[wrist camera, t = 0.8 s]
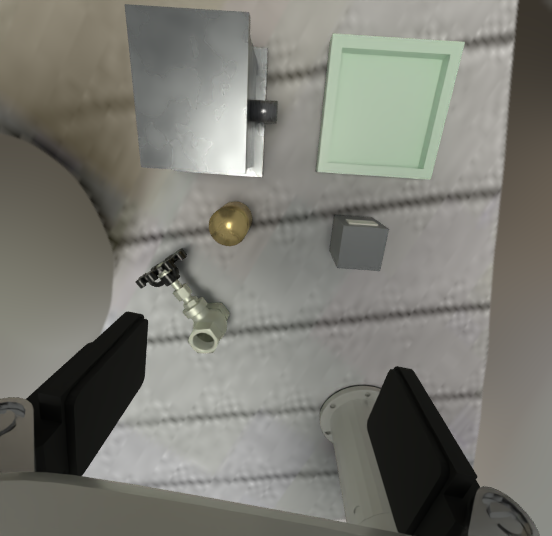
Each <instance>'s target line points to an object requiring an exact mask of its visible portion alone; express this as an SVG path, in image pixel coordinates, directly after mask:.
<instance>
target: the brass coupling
mask: <svg viewBox="0 0 552 536" xmlns="http://www.w3.org/2000/svg"><path fill="white" fill-rule="evenodd" d="M251 224H252V214H251V211H250V210H249V208H248V207H247V206H246V205H245V204H243V203H241V202H229V203H227V204H226V205H224V206H223V207H222V208H220V209H219V210H218V211H216V212H215V213H214V214H213V215H212V217H211V218H210V221H209V231H210V234H211V236H212V237H213V238H214V240H215V241H217V242H218V243H220V244H222V245H225V246H233V245H236V244H238V243H240V242H241V241H242V240H243V239H244V237H245V236H246V234H247V232H248V230H249V228H250V226H251Z"/></svg>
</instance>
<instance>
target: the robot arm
mask: <svg viewBox="0 0 552 536" xmlns="http://www.w3.org/2000/svg"><path fill="white" fill-rule="evenodd" d="M147 332H148V320H147V319H144V315H143V314H138V313H133V312H125V313H124V314H123V315H122V316H121V317H120V318H119V319H117V320H116V321H115V322H114V323H113V324H112V325H111V326H110V327H109V328H108V329H107V330H106V331H104V332H103V333H102V334H101V335H100V336H99V337H98V338H97V339H96V340H95V341H94V342H91V343H88V344H87V345H85V346H84V347H83V348H82V349H81V350H80V351H79V352H78V353H76V354H75V355H74V356H73V357H72V358H71V359H70V360H69V361H68V362H66V363H65V364H64V365H63V366H62V367H61V368H60V369H59V370H58V371H56V372H55V373H54V374H53V375H52V376H51V377H50V378H49V379H48V380H47V381H45V382H44V383H43V384H42V385H41V386H40V387H39V388H38V389H37V390H35V391H34V392H33V393H32V394H31V395H30V396H29V397H28V398H27V399H23V398H19V397H16V398H15V397H8V398H3V399H0V536H540V534H539V531H538V529H537V528H536V526H535V524H534V522H533V521H532V519H531V518H530V517H529V515H528V514H527V513H526V512H525V511H524V510H523V509H522V508H521V507H520V506H519V504H517V503H516V502H515V501H514V500H513V499H511V498H510V497H509V496H507V495H506V494H504V493H502V492H501V491H499V490H497V489H494V488H491V487H484V486H483V487H481V488H480V486H479V484H478V483H477V481H476V478H477V475H476V474H475V472H474V470H473V468H472V467H471V465H470V463H469V462H468V460H467V458H466V457H465V455H464V454H463V452H462V450H461V449H460V447H459V445H458V444H457V442H456V440H455V439H454V437H453V435H452V434H451V432H450V430H449V429H448V427H447V425H446V424H445V422H444V420H443V419H442V417H441V415H440V414H439V412H438V411H437V409H436V407H435V406H434V404H433V402H432V401H431V399H430V397H429V396H428V394H427V392H426V391H425V389H424V387H423V386H422V384H421V382H420V381H419V379H418V377H417V376H416V374H415V372H414V371H413V370H412V369H408V368H403V367H398V366H397V367H395V368H394V369H390V370H389V372H388V374H387V376H386V379H385V381H384V383H383V386H382V388H381V389H379V388H376V387H371V386H355V387H350V388H346V389H343V390H341V391H339V392H337V393H335V394H334V395H332V396H331V397H330V398H329V399H328V400H327V401H326V402H325V403H324V405H323V407H322V408H321V412H320V426H321V430H322V432H323V434H324V435H325V437H326V438H327V439H328V440H329V441H330V442H332V443H333V444H334V450H335V456H336V462H337V468H338V474H339V480H340V486H341V492H342V498H343V505H344V511H345V517H346V523H345V522H339V521H334V520H329V519H323V518H318V517H313V516H307V515H302V514H296V513H291V512H285V511H280V510H274V509H269V508H264V507H258V506H252V505H247V504H241V503H236V502H230V501H225V500H219V499H214V498H208V497H202V496H197V495H191V494H185V493H180V492H174V491H168V490H162V489H157V488H151V487H145V486H140V485H134V484H128V483H122V482H115V481H109V480H102V479H96V478H89V477H83V476H82V475H83V474H84V472H85V471H86V469H87V468H88V466H89V465H90V463H91V462H92V460H93V459H94V457H95V456H96V454H97V453H98V451H99V450H100V448H101V447H102V445H103V444H104V442H105V440H106V439H107V437H108V436H109V434H110V433H111V431H112V430H113V428H114V427H115V425H116V424H117V422H118V421H119V419H120V418H121V416H122V415H123V413H124V412H125V410H126V409H127V407H128V405H129V404H130V402H131V401H132V399H133V398H134V396H135V395H136V393H137V392H138V390H139V389H140V387H141V386H142V383H143V381H144V377H145V364H146V348H147Z"/></svg>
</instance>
